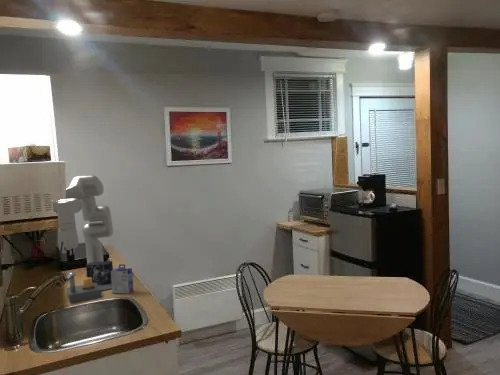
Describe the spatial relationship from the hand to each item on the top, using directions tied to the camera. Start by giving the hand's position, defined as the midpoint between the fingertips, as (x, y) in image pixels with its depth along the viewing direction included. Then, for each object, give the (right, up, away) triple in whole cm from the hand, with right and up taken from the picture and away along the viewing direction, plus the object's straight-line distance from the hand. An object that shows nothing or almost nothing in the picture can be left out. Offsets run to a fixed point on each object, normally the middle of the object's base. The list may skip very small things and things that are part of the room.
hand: (71, 262), depth 219 cm
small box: (+3, -18, +34) cm, 39 cm away
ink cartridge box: (+21, -19, +16) cm, 32 cm away
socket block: (+1, -20, +13) cm, 24 cm away
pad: (+9, -18, +25) cm, 32 cm away
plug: (+4, -20, +14) cm, 24 cm away
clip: (-3, -9, +4) cm, 10 cm away
